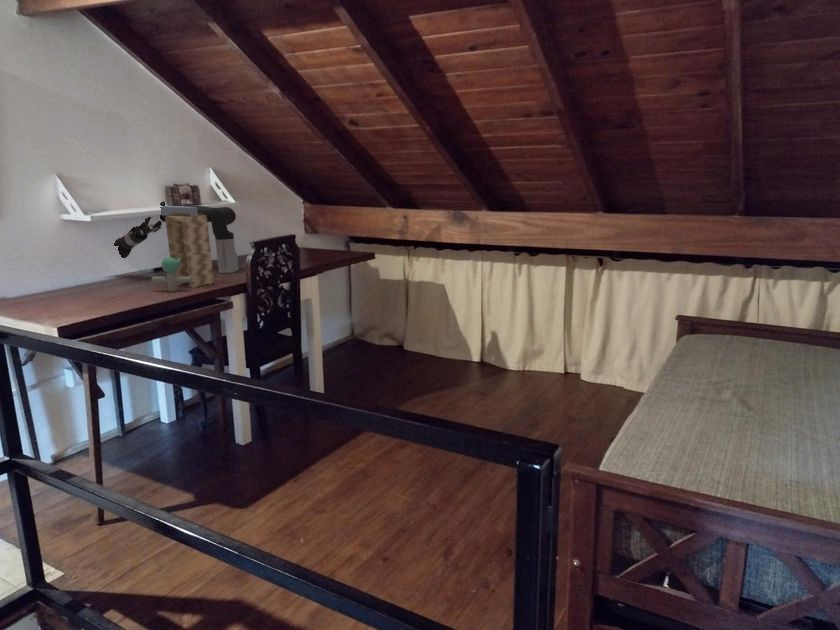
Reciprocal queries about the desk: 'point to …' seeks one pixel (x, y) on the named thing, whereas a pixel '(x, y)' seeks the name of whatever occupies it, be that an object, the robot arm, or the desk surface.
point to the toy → (171, 274)
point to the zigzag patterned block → (190, 247)
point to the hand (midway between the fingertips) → (153, 223)
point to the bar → (179, 210)
